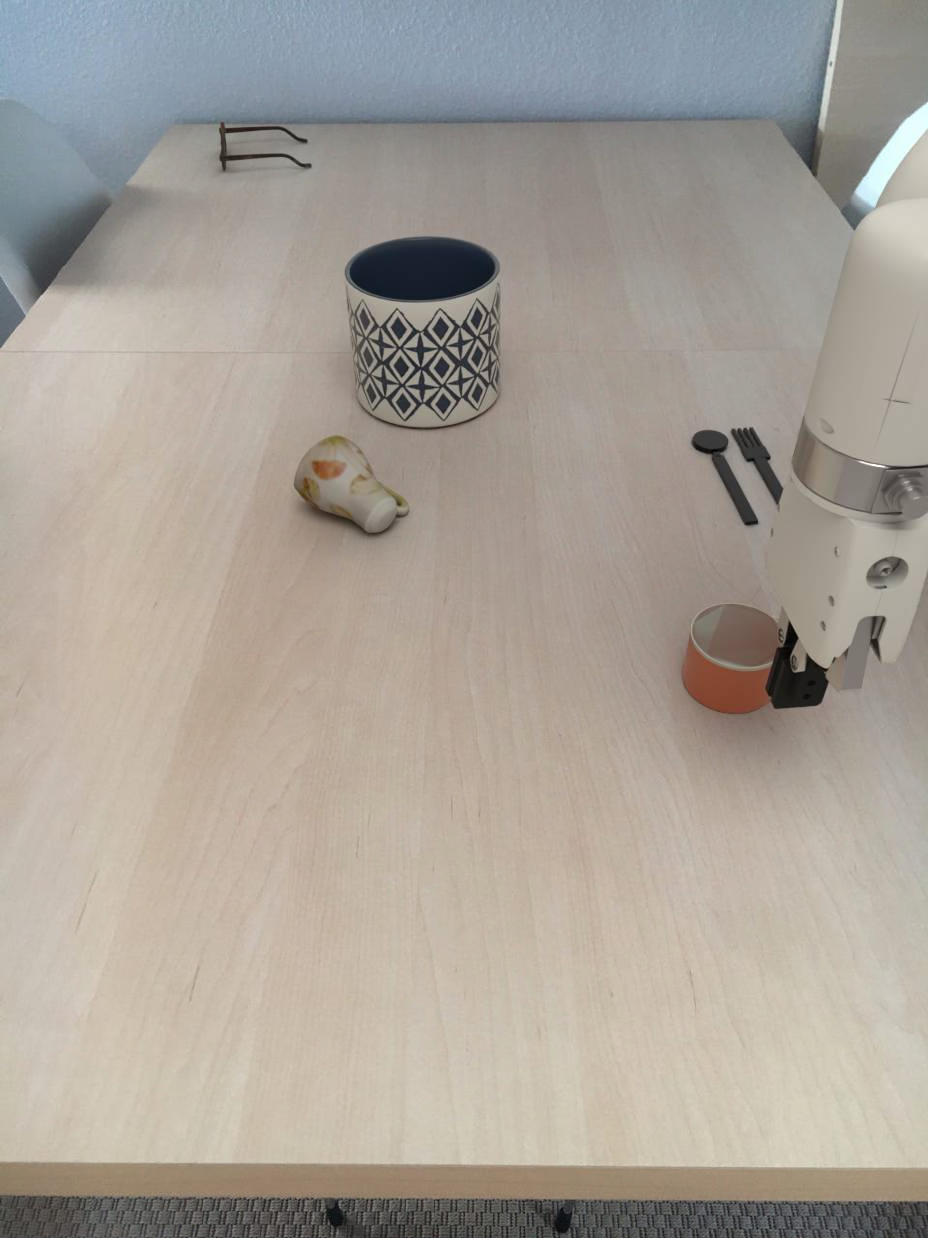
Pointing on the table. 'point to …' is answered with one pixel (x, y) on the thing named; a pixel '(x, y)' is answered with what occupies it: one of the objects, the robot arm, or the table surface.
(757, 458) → the fork
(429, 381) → the planter
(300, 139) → the eyeglasses
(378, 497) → the mug
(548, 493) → the table surface
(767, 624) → the orange cup
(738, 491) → the spoon
